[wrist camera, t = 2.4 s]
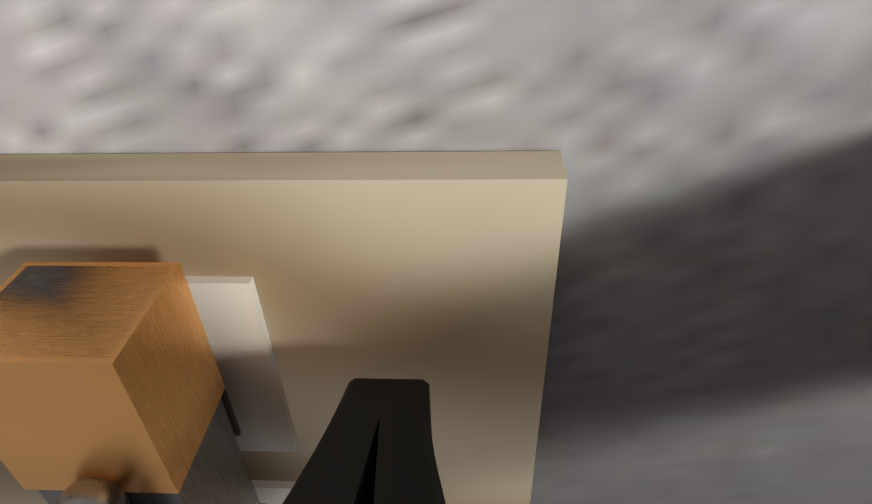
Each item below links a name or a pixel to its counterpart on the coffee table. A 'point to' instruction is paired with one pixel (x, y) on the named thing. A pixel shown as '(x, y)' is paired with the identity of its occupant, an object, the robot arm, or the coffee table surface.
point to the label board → (330, 286)
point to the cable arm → (113, 388)
